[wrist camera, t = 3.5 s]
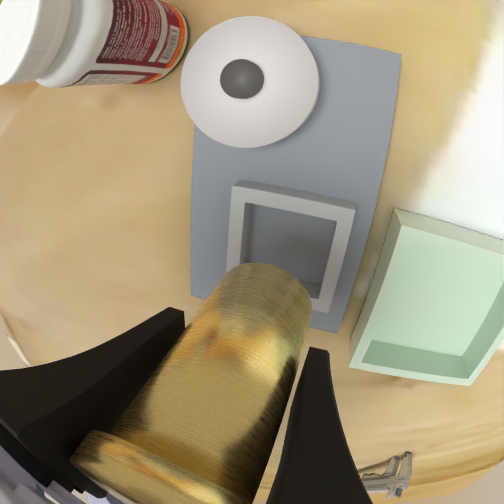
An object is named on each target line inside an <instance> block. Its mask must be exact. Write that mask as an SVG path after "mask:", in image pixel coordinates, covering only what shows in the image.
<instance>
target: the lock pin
mask: <svg viewBox="0 0 504 504" xmlns="http://www.w3.org/2000/svg"><path fill="white" fill-rule="evenodd" d="M311 316H312V303H311V299H310V296H309V294H308V292H307V290H306V289H305V287H304V286H303V285H302V283H301V282H300V281H299V280H298V279H297V278H296V277H294V276H293V275H292V274H290V273H289V272H287V271H285V270H284V269H282V268H279V267H277V266H274V265H271V264H266V263H258V262H253V263H245V264H241V265H238V266H236V267H234V268H232V269H231V270H230V271H228V272H227V273H226V274H225V275H224V277H223V278H222V279H221V281H220V282H219V283H218V285H217V286H216V288H215V289H214V290H213V292H212V293H211V294H210V296H209V297H208V298H207V300H206V301H205V302H204V304H203V305H202V307H201V308H200V309H199V311H198V312H197V313H196V315H195V316H194V317H193V319H192V320H191V322H190V323H189V324H188V326H187V327H186V328H185V330H184V331H183V332H182V334H181V335H180V337H179V338H178V339H177V341H176V342H175V343H174V345H173V346H172V347H171V349H170V350H169V352H168V353H167V354H166V356H165V357H164V358H163V360H162V361H161V363H160V364H159V365H158V367H157V368H156V369H155V371H154V372H153V374H152V375H151V376H150V378H149V379H148V381H147V382H146V383H145V385H144V386H143V387H142V389H141V390H140V392H139V393H138V394H137V396H136V397H135V398H134V400H133V401H132V403H131V404H130V405H129V407H128V408H127V410H126V411H125V412H124V414H123V415H122V417H121V418H120V419H119V421H118V422H117V423H116V425H115V426H114V428H113V429H112V430H111V432H110V433H109V434H108V433H105V432H102V431H97V430H92V431H90V432H89V434H88V435H87V436H86V438H85V439H84V440H83V442H82V443H81V444H80V446H79V447H78V448H77V450H76V451H75V452H74V454H73V455H72V456H71V458H70V459H69V461H70V462H71V464H72V465H73V466H74V467H76V468H77V469H78V470H79V471H80V472H81V473H82V474H84V475H85V476H86V477H87V478H89V479H90V480H91V481H93V482H94V483H95V484H97V485H98V486H99V487H101V488H102V489H104V490H105V491H107V492H108V493H110V494H111V495H113V496H114V497H116V498H117V499H119V500H121V501H122V502H124V503H126V504H252V503H253V500H254V498H255V495H256V493H257V490H258V487H259V485H260V482H261V479H262V477H263V474H264V471H265V469H266V466H267V463H268V460H269V457H270V455H271V452H272V449H273V446H274V443H275V440H276V437H277V434H278V431H279V428H280V425H281V422H282V419H283V416H284V412H285V409H286V406H287V403H288V400H289V396H290V393H291V390H292V386H293V383H294V380H295V376H296V373H297V369H298V366H299V362H300V358H301V355H302V351H303V347H304V344H305V340H306V336H307V332H308V329H309V325H310V321H311Z"/></svg>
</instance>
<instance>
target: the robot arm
mask: <svg viewBox="0 0 504 504" xmlns="http://www.w3.org/2000/svg"><path fill="white" fill-rule="evenodd" d="M184 330H185V320H184V311H181V310H178V309H175V308H172V307H168V308H167V309H165V310H163V311H161V312H160V313H158V314H156V315H154V316H153V317H151V318H149V319H148V320H146V321H144V322H142V323H141V324H139V325H137V326H136V327H134V328H132V329H130V330H128V331H127V332H125V333H123V334H121V335H119V336H117V337H115V338H113V339H111V340H109V341H107V342H105V343H103V344H101V345H99V346H97V347H95V348H92V349H90V350H87V351H85V352H82V353H80V354H77V355H74V356H72V357H68V358H65V359H62V360H58V361H55V362H51V363H48V364H43V365H39V366H34V367H28V368H22V369H13V370H3V371H0V504H55V503H53V502H52V501H50V500H49V499H47V498H46V497H45V496H44V491H45V492H46V493H47V494H49V495H50V496H51V497H52V498H54V499H55V500H56V501H57V502H59V503H60V504H86V503H84V502H83V501H81V500H80V499H78V498H77V497H75V496H74V495H73V494H71V492H72V491H73V489H75V490H76V491H78V492H79V493H81V494H82V493H83V492H84V491H86V492H88V493H89V494H88V496H87V498H88V500H89V502H90V504H126V503H124V502H122V501H121V500H119V499H117V498H116V497H114V496H113V495H111V494H110V493H108V492H107V491H105V490H104V489H102V488H101V487H99V486H98V485H97V484H95V483H94V482H93V481H91V480H90V479H89V478H87V477H86V476H85V475H84V474H82V473H81V472H80V471H79V470H78V469H77V468H76V467H74V466H73V465H72V464H71V462H70V461H69V459H70V458H71V456H72V455H73V454H74V452H75V451H76V450H77V448H78V447H79V446H80V444H81V443H82V442H83V440H84V439H85V438H86V436H87V435H88V434H89V432H90V431H92V430H97V431H102V432H105V433H108V434H109V433H110V432H111V430H112V429H113V428H114V426H115V425H116V423H117V422H118V421H119V419H120V418H121V417H122V415H123V414H124V412H125V411H126V410H127V408H128V407H129V405H130V404H131V403H132V401H133V400H134V398H135V397H136V396H137V394H138V393H139V392H140V390H141V389H142V387H143V386H144V385H145V383H146V382H147V381H148V379H149V378H150V376H151V375H152V374H153V372H154V371H155V369H156V368H157V367H158V365H159V364H160V363H161V361H162V360H163V358H164V357H165V356H166V354H167V353H168V352H169V350H170V349H171V347H172V346H173V345H174V343H175V342H176V341H177V339H178V338H179V337H180V335H181V334H182V332H183V331H184ZM266 504H373V503H372V501H371V499H370V497H369V495H368V493H367V491H366V489H365V487H364V484H363V482H362V480H361V478H360V476H359V474H358V471H357V469H356V466H355V464H354V461H353V459H352V456H351V453H350V450H349V448H348V445H347V442H346V438H345V435H344V432H343V428H342V425H341V421H340V417H339V413H338V409H337V404H336V400H335V395H334V390H333V384H332V378H331V370H330V357H329V352H328V351H327V350H322V349H318V348H314V347H309V351H308V354H307V357H306V360H305V363H304V366H303V369H302V372H301V375H300V378H299V381H298V385H297V388H296V392H295V395H294V399H293V402H292V406H291V409H290V415H289V420H288V425H287V430H286V435H285V440H284V445H283V450H282V455H281V459H280V463H279V467H278V471H277V474H276V477H275V480H274V482H273V485H272V488H271V491H270V494H269V497H268V499H267V502H266Z"/></svg>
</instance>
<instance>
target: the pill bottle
mask: <svg viewBox="0 0 504 504" xmlns="http://www.w3.org/2000/svg"><path fill="white" fill-rule="evenodd" d="M187 36H188V31H187V25H186V21H185V19H184V17H183V15H182V14H181V12H180V11H179V10H178V9H176V8H175V7H173V6H172V5H170V4H167V3H165V2H163V1H160V0H3V1H2V3H1V5H0V85H8V84H16V83H29V82H32V81H34V80H35V81H36V82H38V83H39V84H41V85H43V86H46V87H61V88H62V87H68V86H81V85H100V84H143V83H150V82H153V81H156V80H158V79H160V78H161V77H163V76H165V75H166V74H167V73H168V72H170V71H171V70H172V69H173V68H174V67H175V65H176V64H177V63H178V62H179V60H180V59H181V57H182V55H183V53H184V50H185V47H186V43H187Z"/></svg>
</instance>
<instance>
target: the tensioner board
mask: <svg viewBox="0 0 504 504" xmlns="http://www.w3.org/2000/svg"><path fill="white" fill-rule="evenodd" d="M400 62H401V54H398V53H394V52H390V51H386V50H382V49H377V48H373V47H368V46H363V45H358V44H353V43H347V42H341V41H335V40H328V39H321V38H313V37H304V36H299V35H298V34H297V33H295V32H294V31H293V30H292V29H290V28H289V27H287V26H286V25H284V24H282V23H280V22H278V21H275V20H272V19H269V18H264V17H257V16H244V17H237V18H233V19H229V20H226V21H224V22H222V23H219V24H217V25H216V26H214V27H212V28H211V29H209V30H208V31H207V32H205V33H204V34H203V35H202V36H201V37H200V38H199V39H198V40H197V41H196V42H195V44H194V45H193V46H192V48H191V50H190V51H189V53H188V55H187V57H186V59H185V62H184V65H183V68H182V73H181V95H182V99H183V103H184V106H185V108H186V111H187V113H188V115H189V116H190V118H191V119H192V121H193V122H194V124H195V126H194V143H193V164H192V193H191V295H192V296H195V297H199V298H202V299H205V300H207V298H208V297H209V296H210V294H211V293H212V292H213V290H214V289H215V288H216V286H217V285H218V283H219V282H220V281H221V279H222V278H223V277H224V275H225V274H226V273H227V272H228V271H230V270H231V269H232V268H234V267H236V266H238V265H241V264H245V263H253V262H258V263H266V264H271V265H274V266H277V267H279V268H282V269H284V270H285V271H287V272H289V273H290V274H292V275H293V276H294V277H296V278H297V279H298V280H299V281H300V282H301V283H302V285H303V286H304V287H305V289H306V290H307V292H308V294H309V296H310V299H311V303H312V316H311V321H310V325H309V327H311V328H315V329H319V330H323V331H328V332H332V333H336V334H337V333H338V330H339V327H340V324H341V322H342V319H343V316H344V313H345V310H346V307H347V304H348V301H349V298H350V295H351V292H352V289H353V286H354V283H355V279H356V276H357V273H358V270H359V266H360V263H361V259H362V256H363V253H364V249H365V245H366V242H367V238H368V234H369V231H370V227H371V223H372V219H373V215H374V211H375V207H376V203H377V199H378V194H379V190H380V186H381V181H382V176H383V172H384V167H385V162H386V157H387V152H388V146H389V141H390V135H391V129H392V123H393V117H394V110H395V104H396V96H397V89H398V80H399V71H400Z"/></svg>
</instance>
